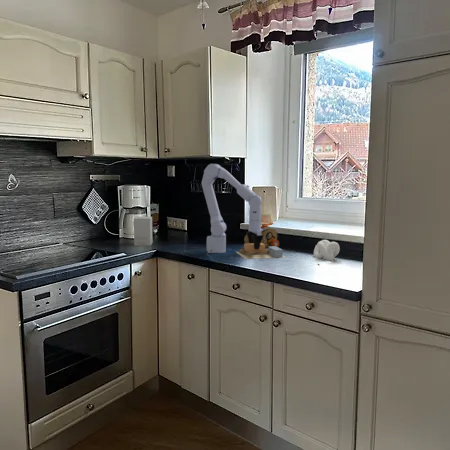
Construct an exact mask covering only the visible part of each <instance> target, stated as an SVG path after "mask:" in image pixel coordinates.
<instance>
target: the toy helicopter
mask: <svg viewBox="0 0 450 450" xmlns="http://www.w3.org/2000/svg"><path fill="white" fill-rule="evenodd" d="M273 224H274V222H269V223H267V224H265V223H263V224H261V229H263V231H262V232H261V235H264V237H263V239H262V241H261V243H263V244H265V249H266V248H268V247H270V246H276V247H278V248H280V247H279V246H280V241H279V239H278V232H277V230H276V229H274V228H271V227H269V226H271V225H273ZM244 243H249V240H248V236H247V234H246V235H244Z"/></svg>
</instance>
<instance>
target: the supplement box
mask: <svg viewBox="0 0 450 450" xmlns="http://www.w3.org/2000/svg"><path fill="white" fill-rule="evenodd" d="M133 243H134V244H133V245H134V247H138V246H139V247H143V246H144V247H147V246H149V247H150V246H151V245H152V244H153V216H136V217H134V218H133Z"/></svg>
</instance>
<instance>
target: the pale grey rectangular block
mask: <svg viewBox="0 0 450 450" xmlns="http://www.w3.org/2000/svg"><path fill="white" fill-rule="evenodd" d="M267 250H268V251H269V254H270V255H271V256H273V257H283V256H284V255H283V253H284V249H282V248H280V247H276V246H270V247H267Z"/></svg>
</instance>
